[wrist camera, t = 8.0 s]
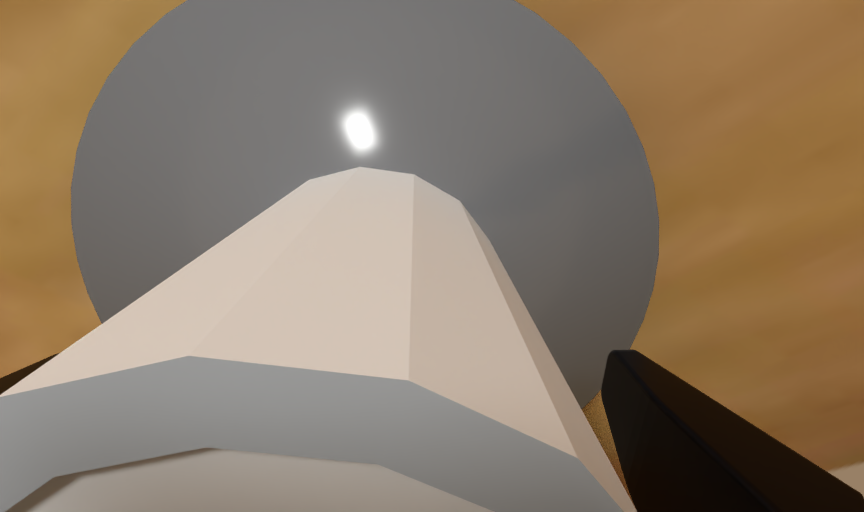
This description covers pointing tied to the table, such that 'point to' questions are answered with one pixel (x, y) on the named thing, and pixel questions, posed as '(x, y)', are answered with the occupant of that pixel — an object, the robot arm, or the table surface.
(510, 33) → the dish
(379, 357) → the white cup
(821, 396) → the table surface
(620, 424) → the robot arm
